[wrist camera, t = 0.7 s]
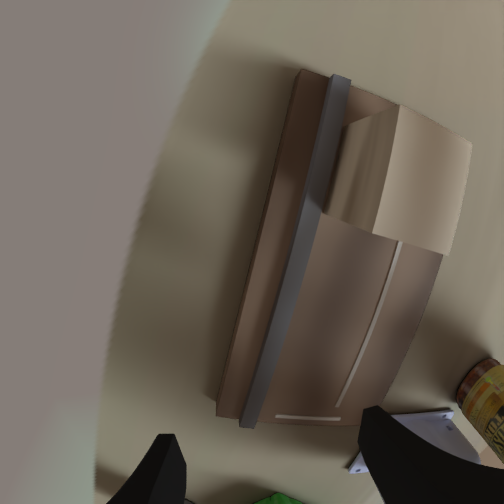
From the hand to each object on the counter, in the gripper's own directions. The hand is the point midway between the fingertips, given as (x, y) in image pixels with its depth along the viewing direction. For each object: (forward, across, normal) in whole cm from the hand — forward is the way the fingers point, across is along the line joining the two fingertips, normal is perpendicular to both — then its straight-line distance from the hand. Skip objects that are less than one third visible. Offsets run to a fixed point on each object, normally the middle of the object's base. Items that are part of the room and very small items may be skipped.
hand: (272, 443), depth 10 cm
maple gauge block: (+8, -7, -9) cm, 14 cm away
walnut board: (+10, -6, -3) cm, 12 cm away
